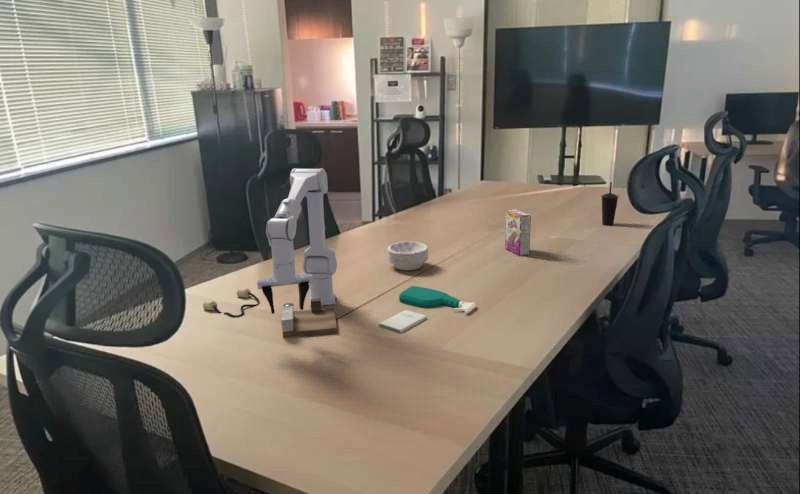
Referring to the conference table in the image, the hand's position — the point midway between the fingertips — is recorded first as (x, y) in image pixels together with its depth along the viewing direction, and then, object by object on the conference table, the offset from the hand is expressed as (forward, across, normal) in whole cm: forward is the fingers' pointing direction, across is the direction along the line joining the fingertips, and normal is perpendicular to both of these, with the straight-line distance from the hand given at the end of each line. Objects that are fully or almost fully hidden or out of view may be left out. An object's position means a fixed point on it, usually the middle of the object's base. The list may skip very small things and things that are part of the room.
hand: (287, 310), depth 152 cm
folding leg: (+7, +1, +8) cm, 11 cm away
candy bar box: (+6, +98, +48) cm, 109 cm away
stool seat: (+8, +7, +9) cm, 14 cm away
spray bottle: (+8, +48, +9) cm, 49 cm away
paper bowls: (+7, +51, +47) cm, 70 cm away
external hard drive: (+9, +33, 0) cm, 34 cm away
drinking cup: (+4, +158, +69) cm, 173 cm away
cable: (+9, -12, +33) cm, 36 cm away
